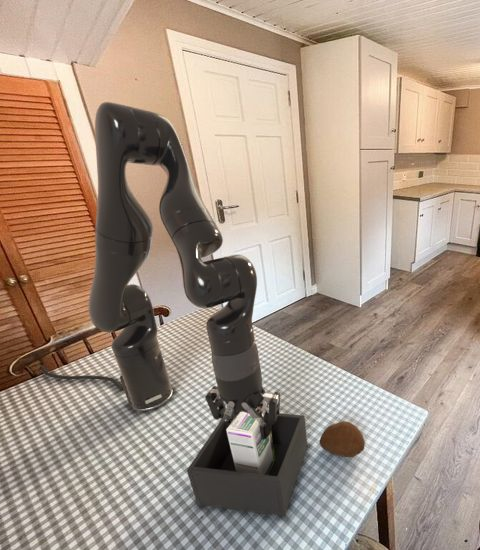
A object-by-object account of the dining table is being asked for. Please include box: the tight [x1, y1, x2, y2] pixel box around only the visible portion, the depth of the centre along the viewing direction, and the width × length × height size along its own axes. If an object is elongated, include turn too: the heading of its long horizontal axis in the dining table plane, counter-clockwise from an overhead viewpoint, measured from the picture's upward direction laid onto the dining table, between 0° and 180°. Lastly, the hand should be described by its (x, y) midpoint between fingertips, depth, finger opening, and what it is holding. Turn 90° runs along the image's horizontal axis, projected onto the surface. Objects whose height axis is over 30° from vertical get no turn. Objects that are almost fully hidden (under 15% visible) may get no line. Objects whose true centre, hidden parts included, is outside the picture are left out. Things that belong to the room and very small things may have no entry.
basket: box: [186, 412, 308, 517], centre depth 63 cm, size 18×15×10 cm
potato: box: [319, 420, 366, 459], centre depth 69 cm, size 7×10×7 cm
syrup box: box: [226, 408, 276, 475], centre depth 62 cm, size 6×6×14 cm
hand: (250, 433), depth 60 cm, fingers closed on syrup box, 6 cm apart
